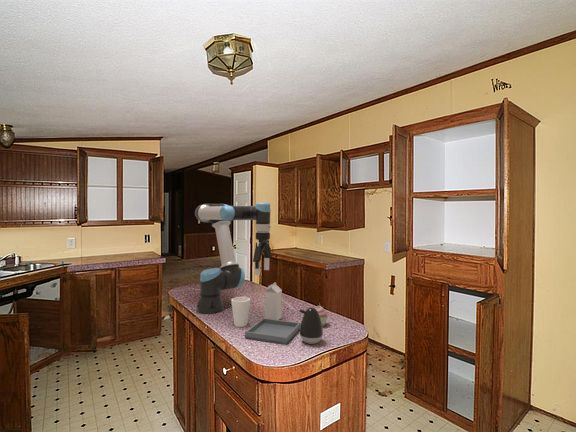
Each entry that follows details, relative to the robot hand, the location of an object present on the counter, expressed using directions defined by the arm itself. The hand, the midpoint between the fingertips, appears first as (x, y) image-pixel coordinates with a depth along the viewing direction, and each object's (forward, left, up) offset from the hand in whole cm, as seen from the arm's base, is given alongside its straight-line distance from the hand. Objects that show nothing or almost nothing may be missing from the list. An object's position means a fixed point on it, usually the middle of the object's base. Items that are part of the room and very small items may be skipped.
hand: (262, 272), depth 173 cm
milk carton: (+5, +4, -26) cm, 26 cm away
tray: (+13, -15, -25) cm, 32 cm away
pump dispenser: (+32, -18, -26) cm, 45 cm away
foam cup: (-7, -10, -26) cm, 28 cm away
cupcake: (+30, +4, -26) cm, 39 cm away
